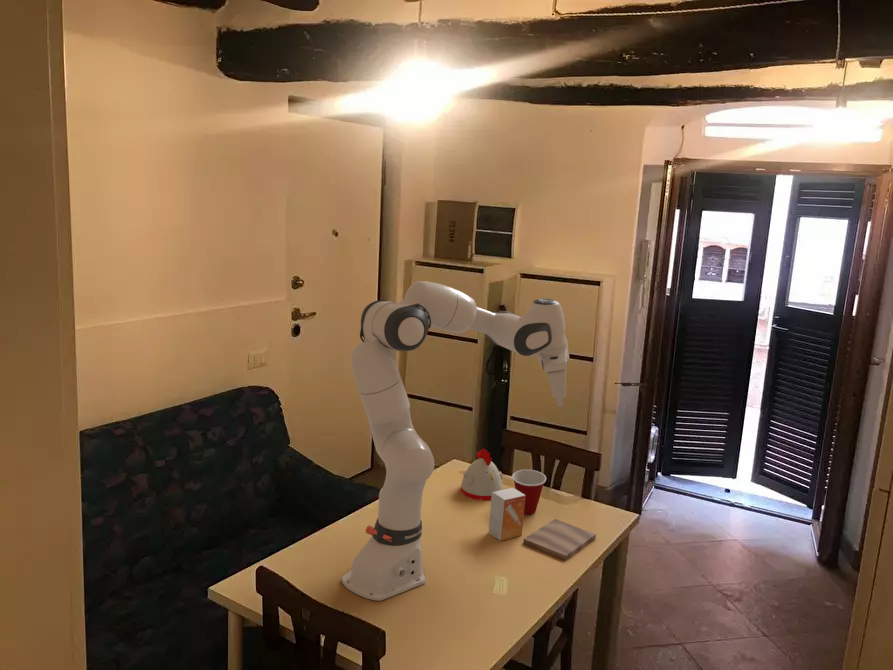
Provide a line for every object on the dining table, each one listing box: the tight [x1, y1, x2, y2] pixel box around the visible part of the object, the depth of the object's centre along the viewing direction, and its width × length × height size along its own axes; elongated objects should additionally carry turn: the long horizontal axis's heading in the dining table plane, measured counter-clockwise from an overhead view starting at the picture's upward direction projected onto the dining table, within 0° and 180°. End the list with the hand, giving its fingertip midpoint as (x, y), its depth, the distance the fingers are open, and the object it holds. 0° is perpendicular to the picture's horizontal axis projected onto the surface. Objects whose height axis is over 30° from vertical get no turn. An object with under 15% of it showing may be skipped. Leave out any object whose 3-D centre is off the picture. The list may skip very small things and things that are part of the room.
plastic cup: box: [511, 469, 547, 516], centre depth 232 cm, size 11×11×12 cm
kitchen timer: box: [460, 448, 503, 501], centre depth 245 cm, size 14×14×15 cm
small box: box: [488, 487, 526, 542], centre depth 216 cm, size 8×6×13 cm
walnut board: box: [523, 518, 597, 561], centre depth 215 cm, size 18×14×2 cm
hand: (558, 397), depth 210 cm, fingers open, 8 cm apart
